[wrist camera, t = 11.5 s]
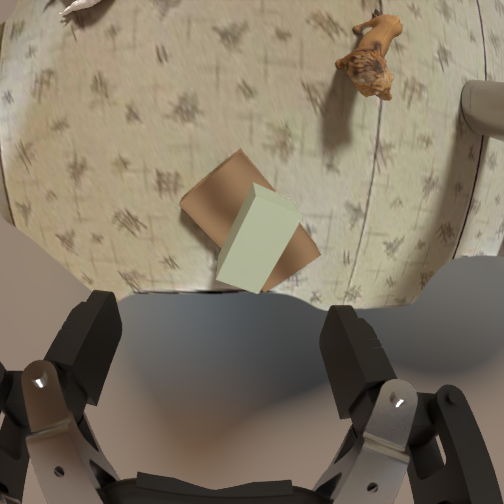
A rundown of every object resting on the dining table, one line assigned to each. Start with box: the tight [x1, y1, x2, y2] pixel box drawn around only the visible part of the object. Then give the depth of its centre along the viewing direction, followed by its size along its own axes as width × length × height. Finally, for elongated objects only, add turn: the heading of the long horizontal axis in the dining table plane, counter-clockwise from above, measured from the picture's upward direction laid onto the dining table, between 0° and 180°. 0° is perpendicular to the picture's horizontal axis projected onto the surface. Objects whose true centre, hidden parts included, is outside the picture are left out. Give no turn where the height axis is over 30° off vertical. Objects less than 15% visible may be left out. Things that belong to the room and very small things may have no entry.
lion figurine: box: [336, 9, 403, 101], centre depth 21 cm, size 15×5×9 cm, turn 162°
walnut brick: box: [179, 149, 321, 293], centre depth 34 cm, size 9×16×4 cm, turn 38°
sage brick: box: [216, 182, 303, 294], centre depth 30 cm, size 5×10×5 cm, turn 155°
